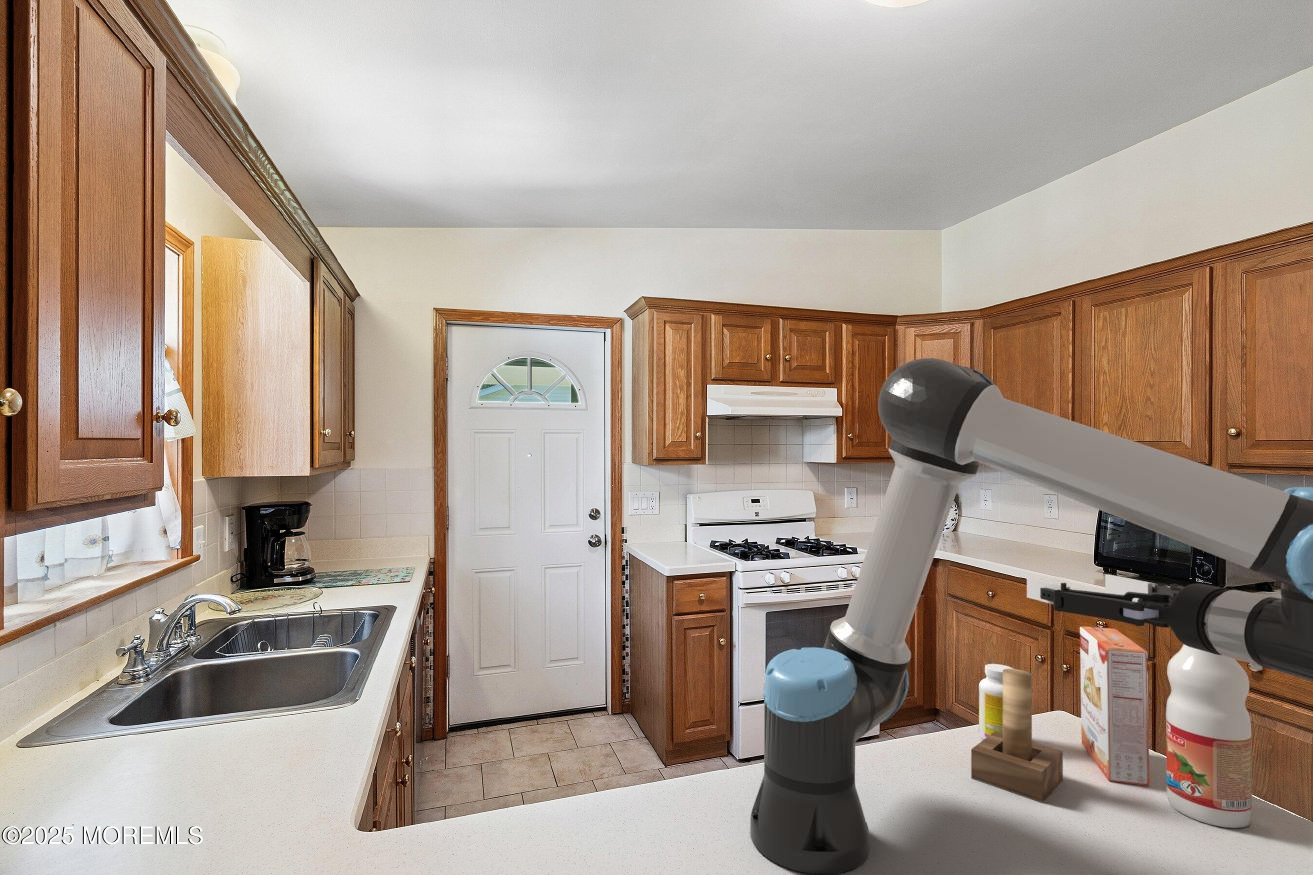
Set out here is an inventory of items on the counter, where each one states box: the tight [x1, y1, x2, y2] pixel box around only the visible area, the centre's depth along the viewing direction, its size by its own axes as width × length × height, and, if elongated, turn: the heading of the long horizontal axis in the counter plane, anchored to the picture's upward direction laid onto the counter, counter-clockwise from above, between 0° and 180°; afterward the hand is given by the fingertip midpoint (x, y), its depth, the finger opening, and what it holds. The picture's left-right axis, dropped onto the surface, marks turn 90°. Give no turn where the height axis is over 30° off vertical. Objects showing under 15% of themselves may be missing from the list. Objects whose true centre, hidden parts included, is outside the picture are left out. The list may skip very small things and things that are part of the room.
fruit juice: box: [1165, 643, 1253, 829], centre depth 96 cm, size 9×9×28 cm
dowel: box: [1003, 668, 1033, 761], centre depth 104 cm, size 4×4×16 cm
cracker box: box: [1079, 626, 1151, 787], centre depth 110 cm, size 14×6×21 cm, turn 162°
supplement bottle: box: [978, 663, 1014, 741], centre depth 118 cm, size 7×7×13 cm
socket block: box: [970, 731, 1064, 804], centre depth 104 cm, size 10×10×4 cm
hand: (1068, 585), depth 95 cm, fingers open, 13 cm apart
